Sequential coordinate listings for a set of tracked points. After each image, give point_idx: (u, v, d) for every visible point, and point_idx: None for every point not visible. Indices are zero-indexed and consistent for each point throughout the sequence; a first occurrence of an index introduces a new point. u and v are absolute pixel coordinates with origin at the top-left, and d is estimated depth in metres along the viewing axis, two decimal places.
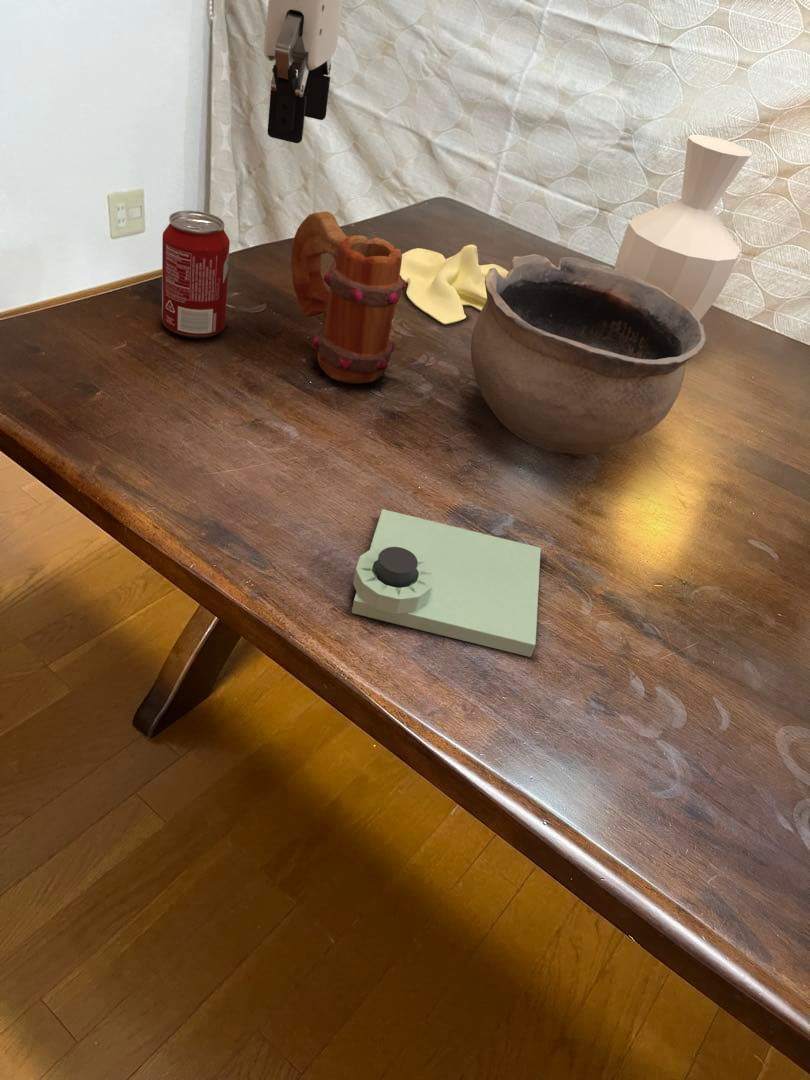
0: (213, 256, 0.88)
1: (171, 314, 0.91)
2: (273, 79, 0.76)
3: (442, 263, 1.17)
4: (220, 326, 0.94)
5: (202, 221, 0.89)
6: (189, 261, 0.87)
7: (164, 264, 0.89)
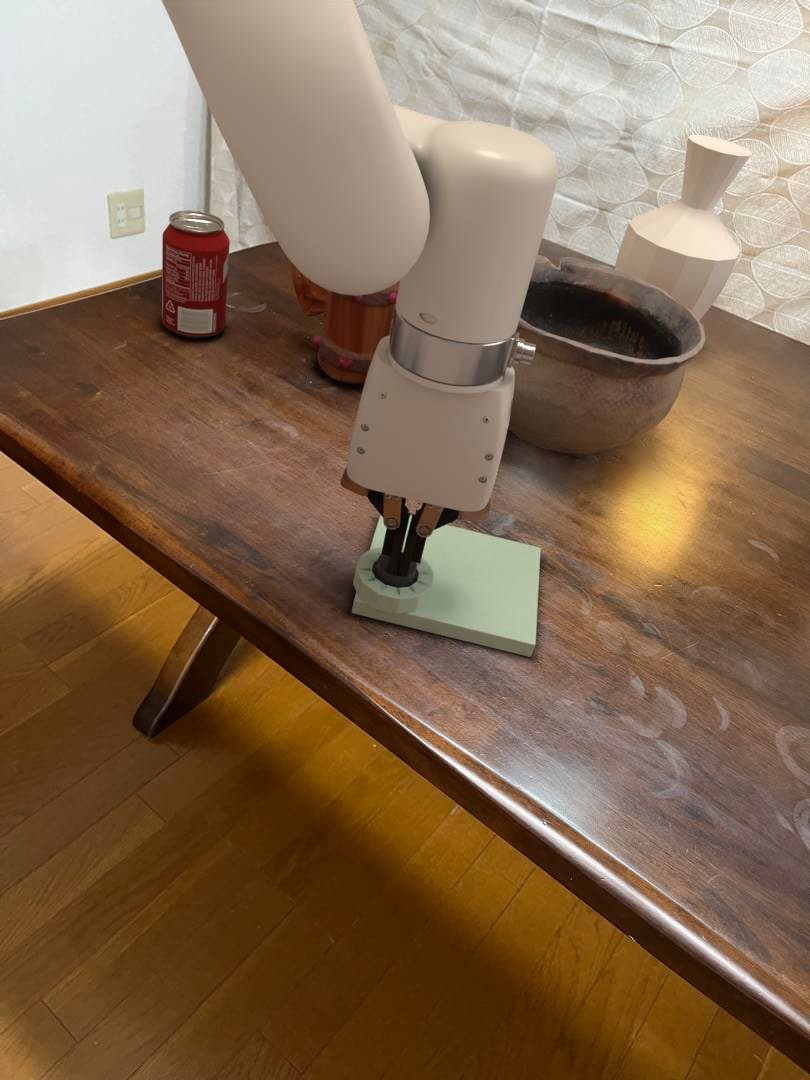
0: (213, 256, 0.88)
1: (171, 314, 0.91)
2: None
3: None
4: (220, 326, 0.94)
5: (202, 221, 0.89)
6: (189, 261, 0.87)
7: (164, 264, 0.89)
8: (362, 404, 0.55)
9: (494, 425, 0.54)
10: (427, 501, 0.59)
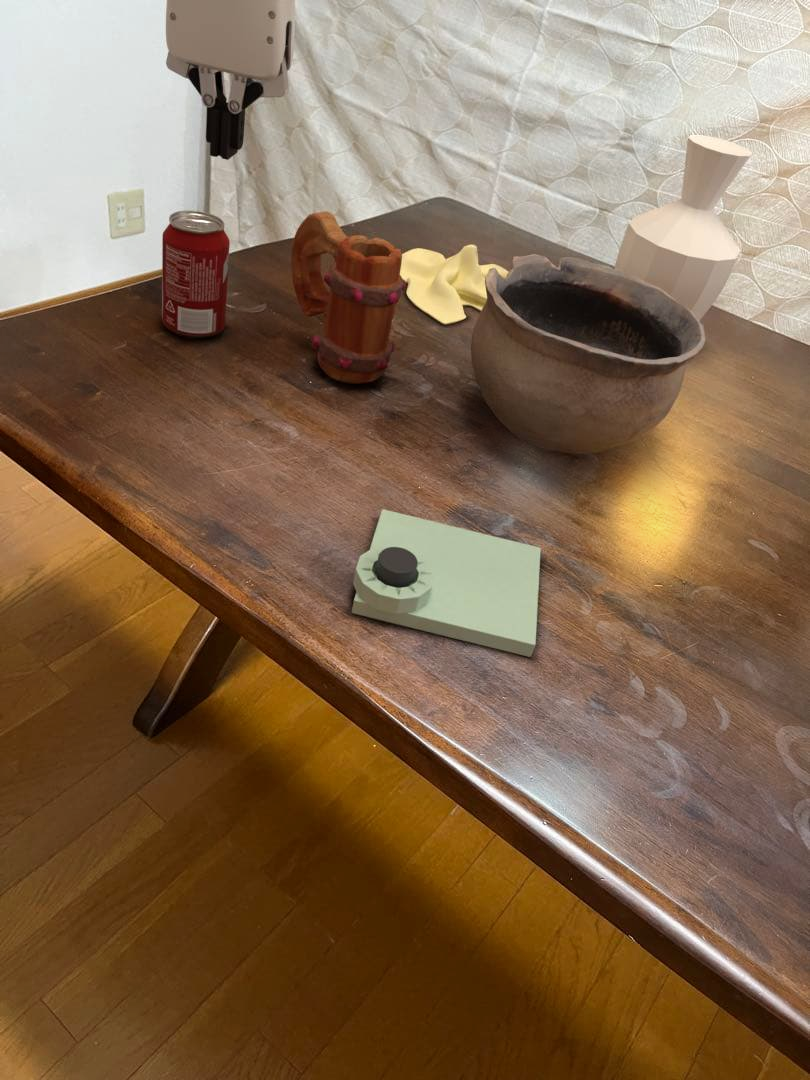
0: (213, 256, 0.88)
1: (171, 314, 0.91)
2: None
3: (442, 263, 1.17)
4: (220, 326, 0.94)
5: (202, 221, 0.89)
6: (189, 261, 0.87)
7: (164, 264, 0.89)
8: None
9: None
10: (230, 68, 0.73)
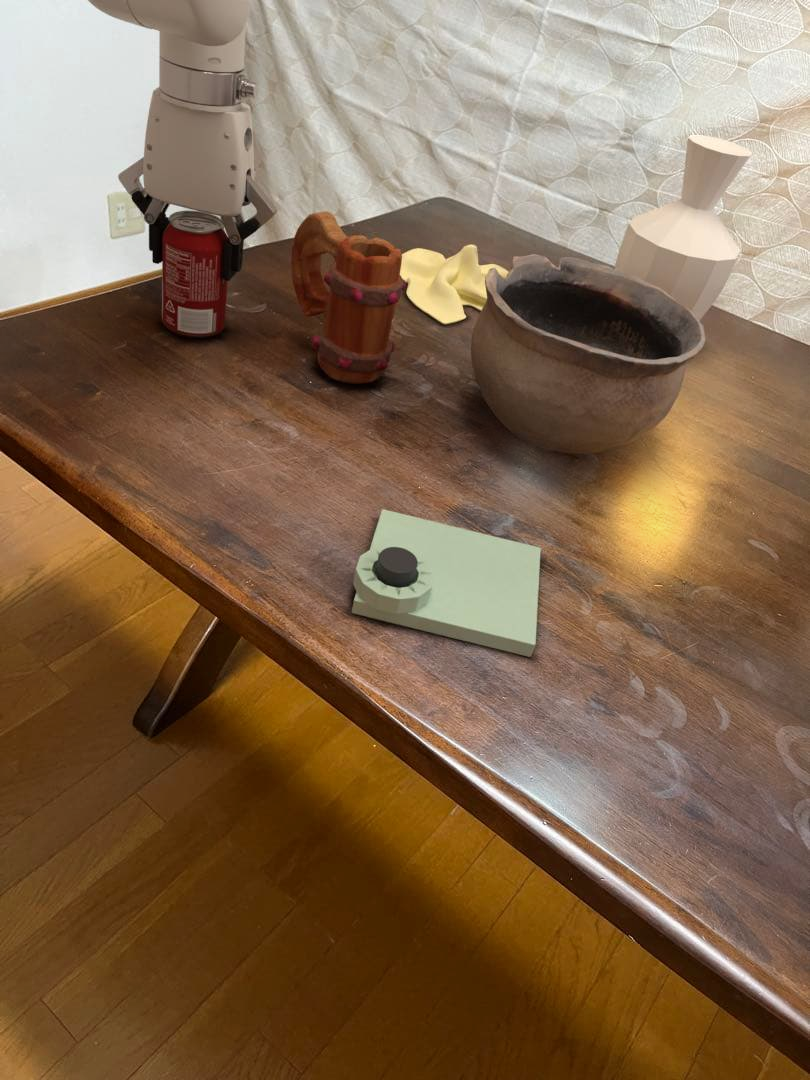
0: (213, 256, 0.88)
1: (171, 314, 0.91)
2: None
3: (442, 263, 1.17)
4: (220, 326, 0.94)
5: (202, 221, 0.89)
6: (189, 261, 0.87)
7: (164, 264, 0.89)
8: (146, 129, 0.82)
9: (232, 141, 0.81)
10: (199, 208, 0.85)
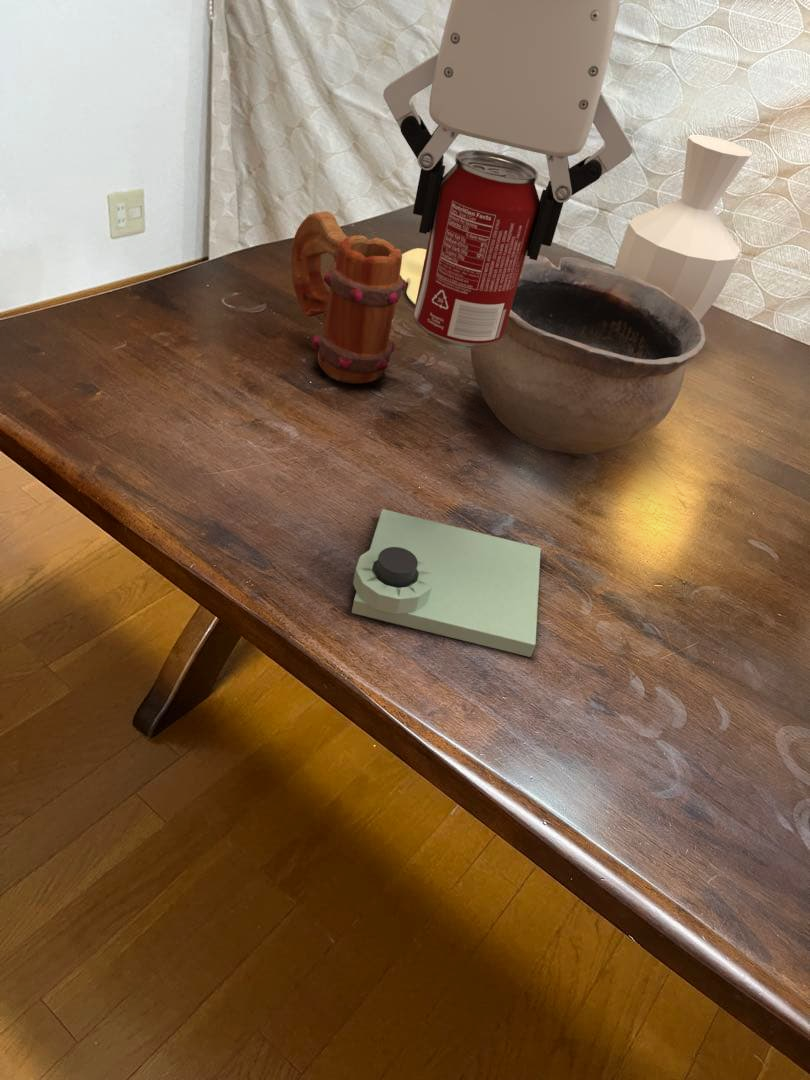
0: (524, 220, 0.56)
1: (441, 312, 0.59)
2: None
3: None
4: (504, 329, 0.62)
5: (498, 166, 0.57)
6: (490, 228, 0.55)
7: (441, 233, 0.57)
8: (453, 7, 0.49)
9: (602, 24, 0.49)
10: (518, 141, 0.53)
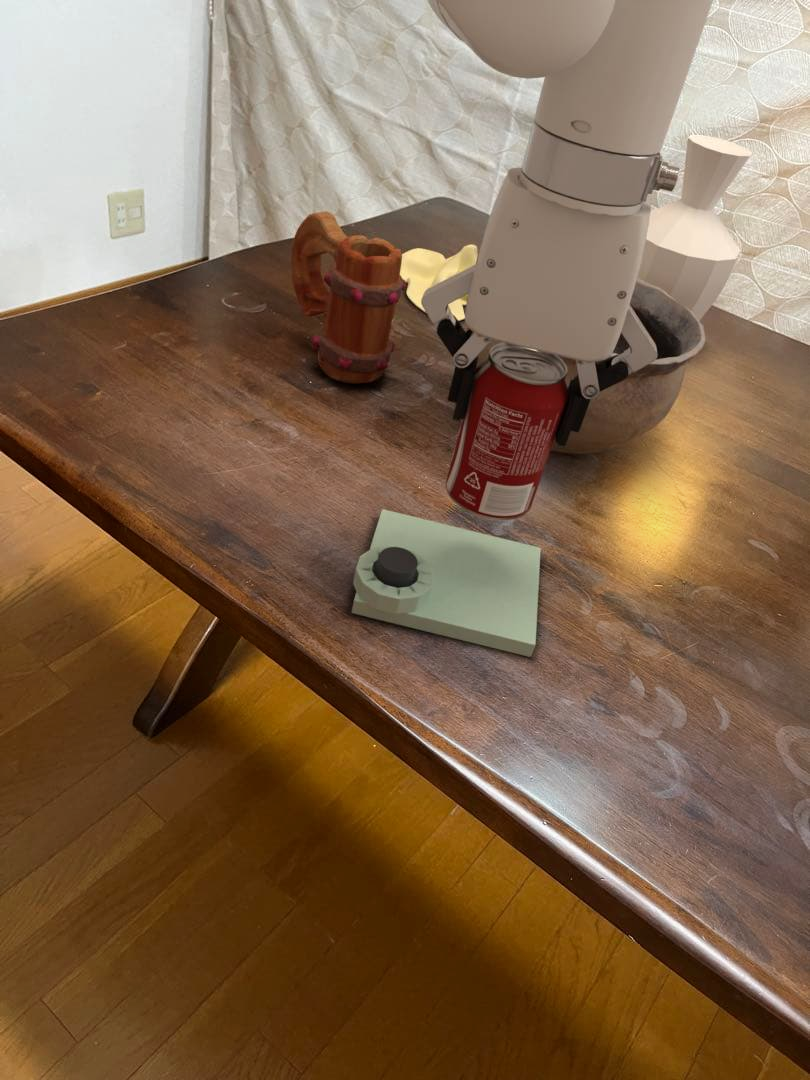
0: (554, 415, 0.59)
1: (473, 491, 0.62)
2: None
3: (442, 263, 1.17)
4: (532, 501, 0.65)
5: (529, 358, 0.60)
6: (521, 424, 0.58)
7: (474, 423, 0.60)
8: (490, 237, 0.52)
9: (631, 256, 0.52)
10: (549, 349, 0.56)
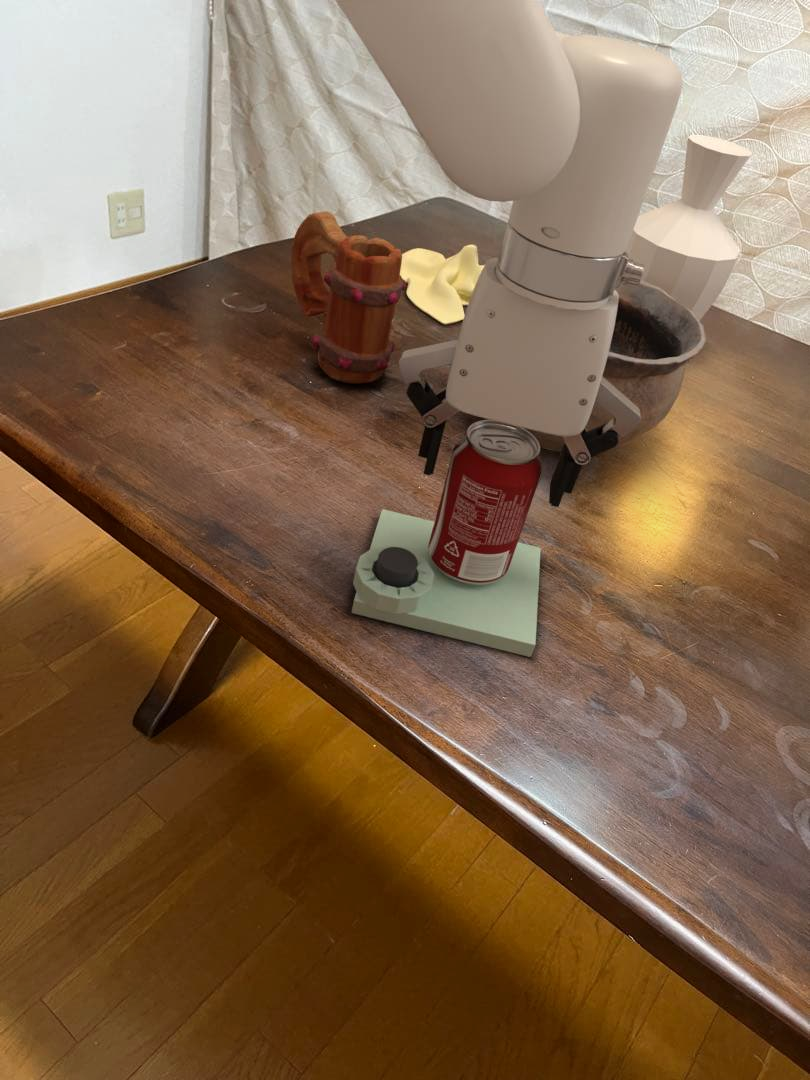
0: (527, 490, 0.63)
1: (453, 558, 0.66)
2: None
3: (442, 263, 1.17)
4: (509, 565, 0.69)
5: (504, 436, 0.64)
6: (496, 499, 0.62)
7: (453, 497, 0.64)
8: (468, 324, 0.56)
9: (600, 345, 0.55)
10: (525, 425, 0.60)
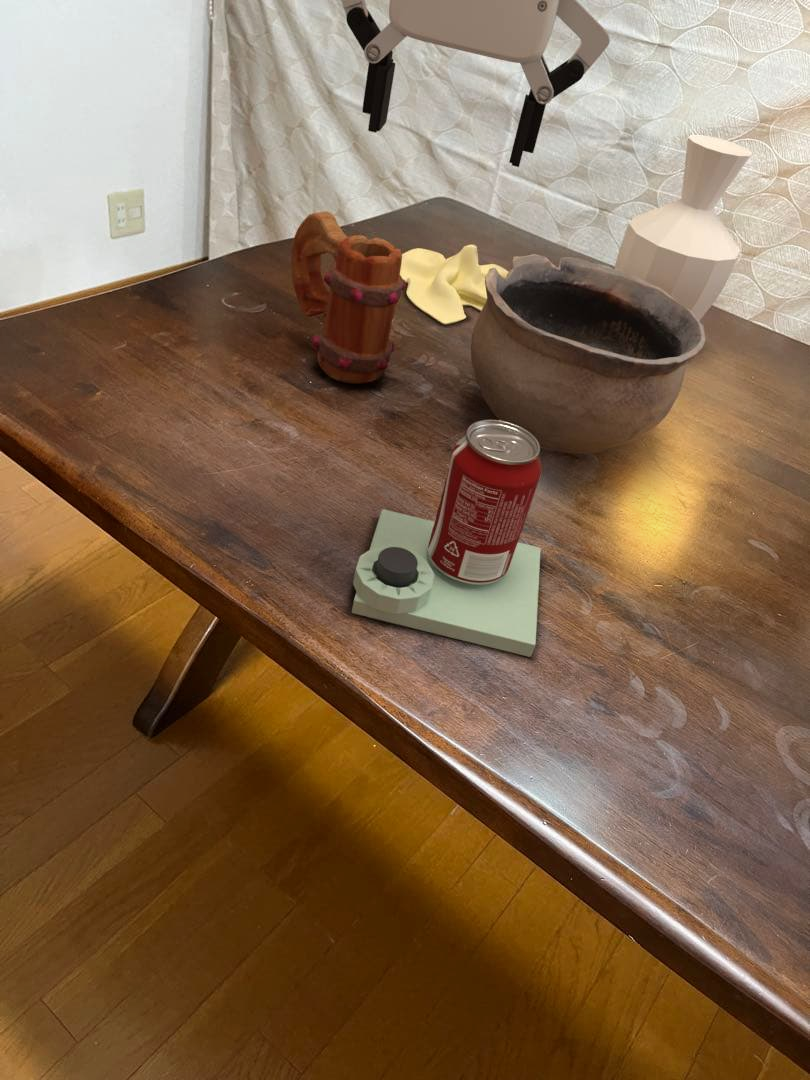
0: (527, 490, 0.63)
1: (453, 558, 0.66)
2: None
3: (442, 263, 1.17)
4: (509, 565, 0.69)
5: (504, 436, 0.64)
6: (496, 500, 0.62)
7: (453, 497, 0.64)
8: None
9: None
10: (478, 46, 0.53)
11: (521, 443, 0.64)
